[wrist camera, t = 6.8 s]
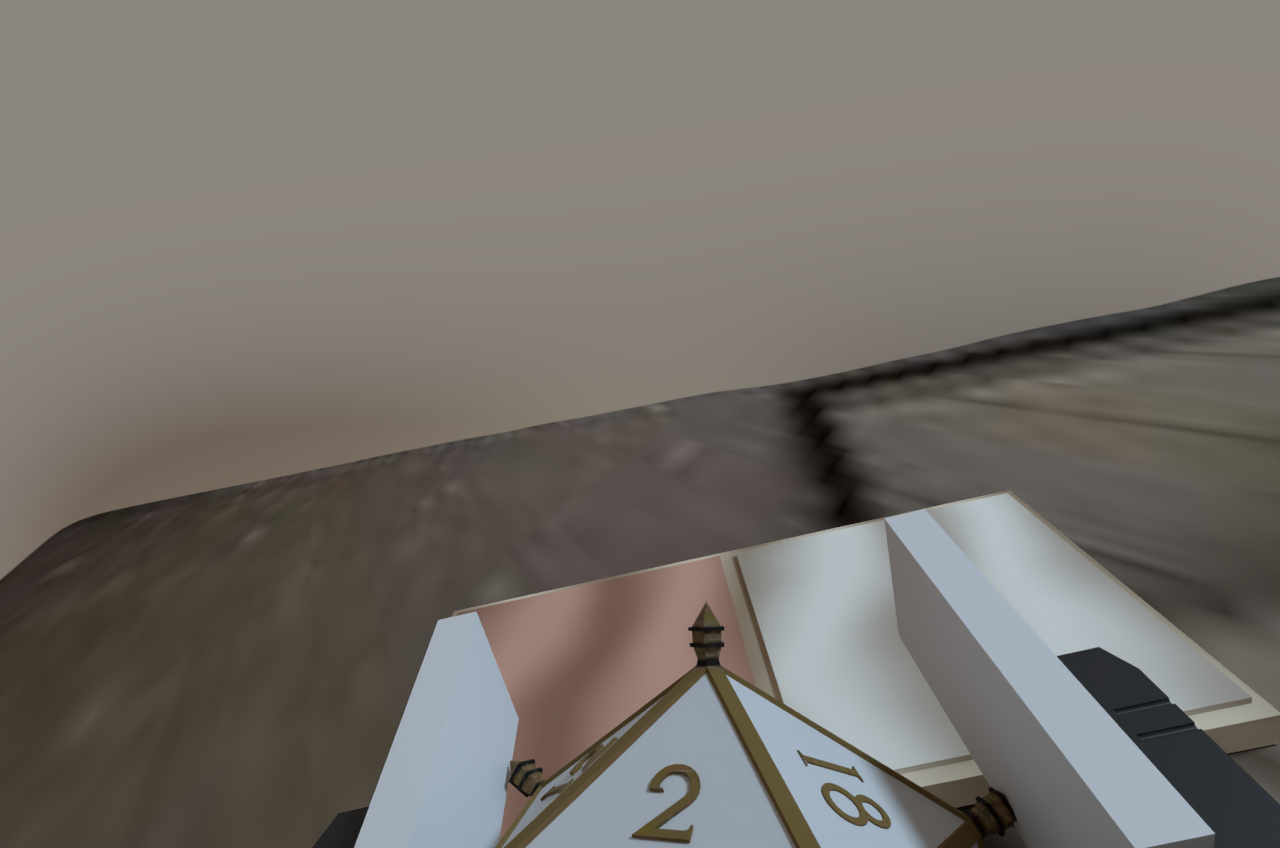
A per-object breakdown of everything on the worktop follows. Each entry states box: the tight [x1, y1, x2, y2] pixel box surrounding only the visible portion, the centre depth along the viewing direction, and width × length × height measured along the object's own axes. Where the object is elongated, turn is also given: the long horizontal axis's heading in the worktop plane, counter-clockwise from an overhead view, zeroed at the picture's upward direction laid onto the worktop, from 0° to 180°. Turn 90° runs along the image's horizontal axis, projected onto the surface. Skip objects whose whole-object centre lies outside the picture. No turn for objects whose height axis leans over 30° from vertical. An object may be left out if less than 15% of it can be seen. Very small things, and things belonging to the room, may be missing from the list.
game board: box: [452, 490, 1280, 841], centre depth 25 cm, size 25×13×1 cm, turn 92°
